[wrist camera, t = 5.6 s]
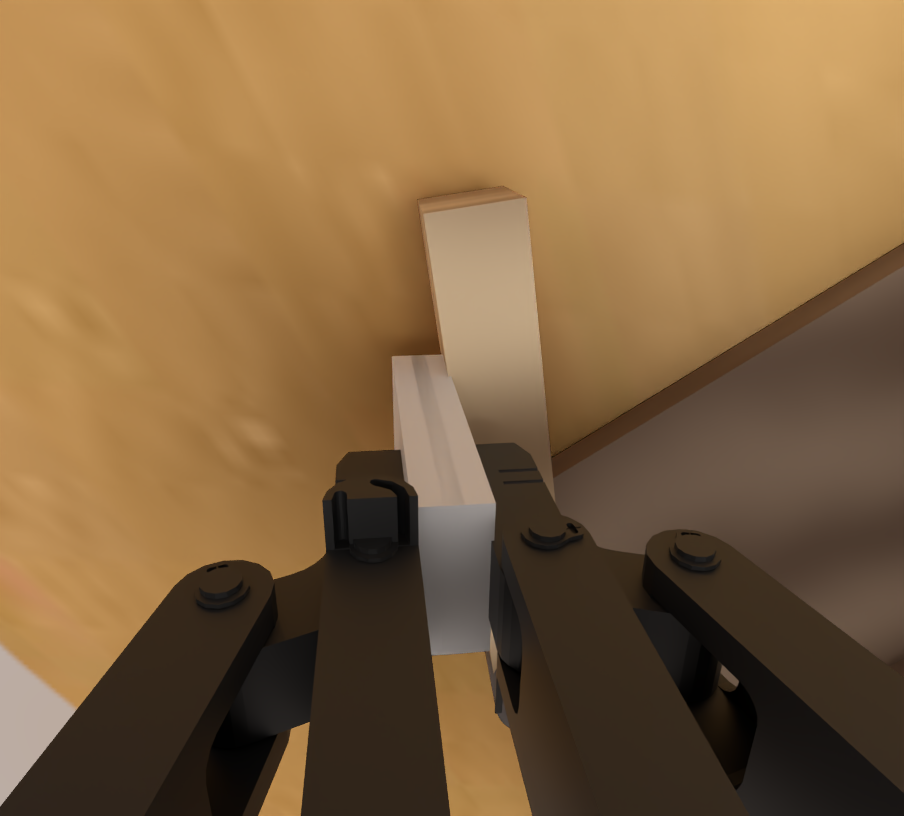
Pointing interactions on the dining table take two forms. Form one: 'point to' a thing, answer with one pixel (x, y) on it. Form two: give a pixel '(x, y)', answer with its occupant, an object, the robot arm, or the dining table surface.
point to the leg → (489, 323)
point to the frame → (776, 458)
